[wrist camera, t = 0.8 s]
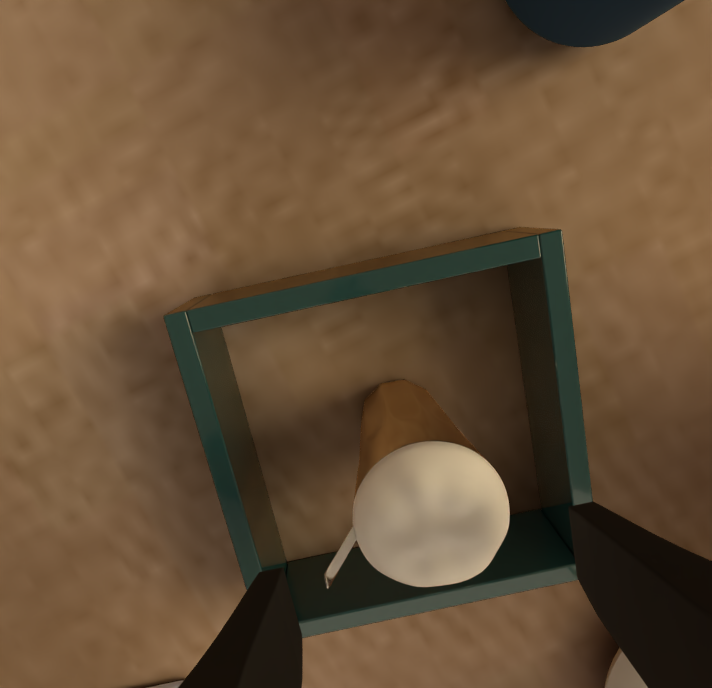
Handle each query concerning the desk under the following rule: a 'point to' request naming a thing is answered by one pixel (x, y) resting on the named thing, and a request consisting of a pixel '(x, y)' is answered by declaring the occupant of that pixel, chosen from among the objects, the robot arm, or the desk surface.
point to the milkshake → (421, 494)
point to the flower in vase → (623, 674)
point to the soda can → (587, 18)
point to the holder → (357, 576)
